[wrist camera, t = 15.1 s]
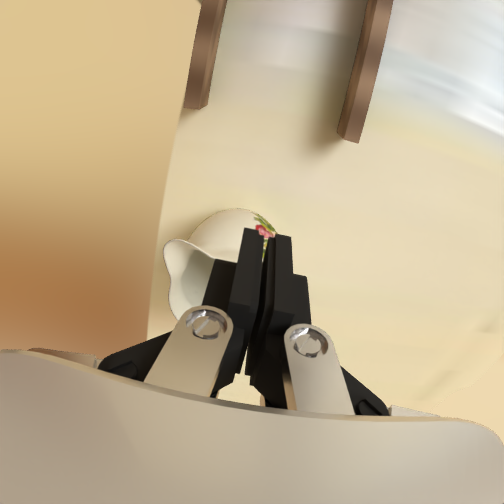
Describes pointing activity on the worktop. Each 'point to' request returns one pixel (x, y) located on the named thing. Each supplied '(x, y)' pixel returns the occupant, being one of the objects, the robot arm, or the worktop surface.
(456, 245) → the worktop surface
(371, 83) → the wooden planks
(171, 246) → the pitcher
